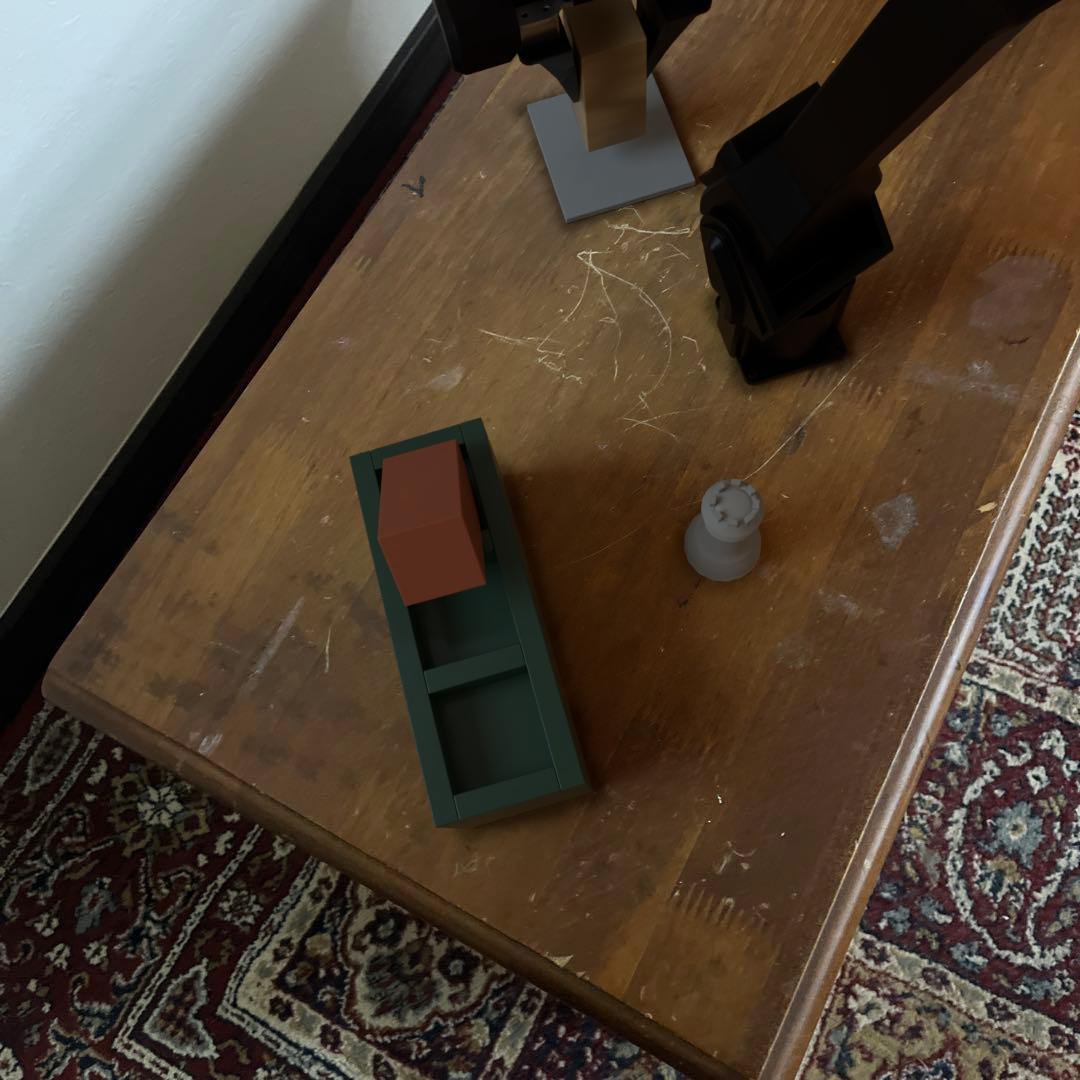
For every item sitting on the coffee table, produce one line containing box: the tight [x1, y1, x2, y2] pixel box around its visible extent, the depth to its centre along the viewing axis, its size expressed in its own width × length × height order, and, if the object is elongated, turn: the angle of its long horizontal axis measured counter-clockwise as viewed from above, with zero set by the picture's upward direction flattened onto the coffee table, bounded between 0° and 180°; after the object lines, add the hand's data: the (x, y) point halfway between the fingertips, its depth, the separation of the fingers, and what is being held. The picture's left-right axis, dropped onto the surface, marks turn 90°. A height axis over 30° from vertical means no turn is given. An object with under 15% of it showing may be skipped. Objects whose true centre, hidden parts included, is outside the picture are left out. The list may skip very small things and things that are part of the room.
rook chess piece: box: [683, 478, 766, 583], centre depth 53 cm, size 4×4×8 cm
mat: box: [526, 72, 696, 224], centre depth 65 cm, size 9×10×1 cm
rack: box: [348, 417, 594, 830], centre depth 52 cm, size 7×20×8 cm, turn 16°
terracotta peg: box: [378, 439, 486, 606], centre depth 47 cm, size 4×4×8 cm
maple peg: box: [561, 0, 647, 152], centre depth 59 cm, size 4×4×8 cm
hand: (607, 87), depth 60 cm, fingers closed on maple peg, 4 cm apart
